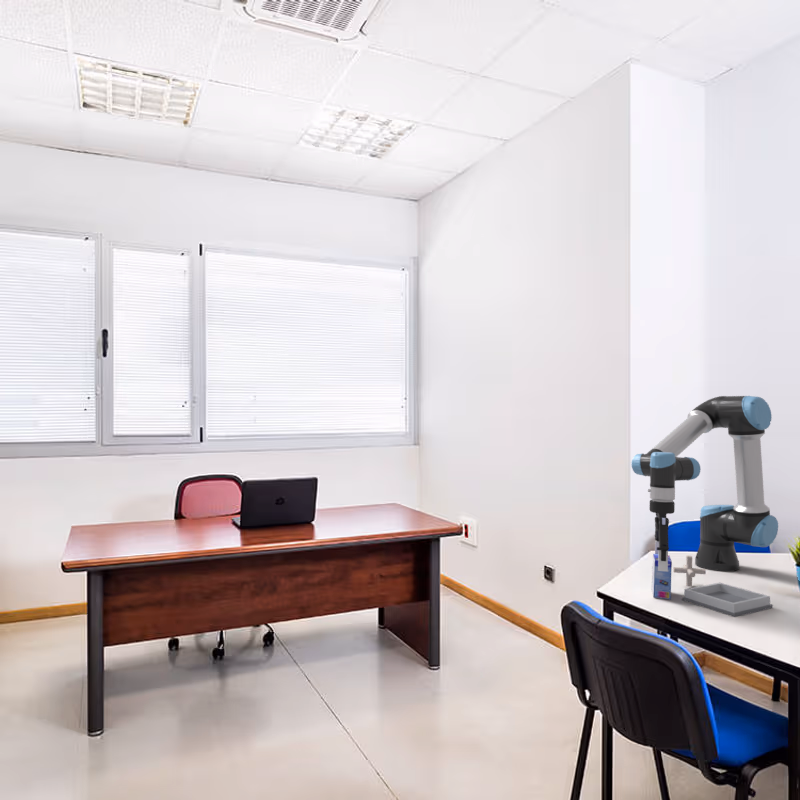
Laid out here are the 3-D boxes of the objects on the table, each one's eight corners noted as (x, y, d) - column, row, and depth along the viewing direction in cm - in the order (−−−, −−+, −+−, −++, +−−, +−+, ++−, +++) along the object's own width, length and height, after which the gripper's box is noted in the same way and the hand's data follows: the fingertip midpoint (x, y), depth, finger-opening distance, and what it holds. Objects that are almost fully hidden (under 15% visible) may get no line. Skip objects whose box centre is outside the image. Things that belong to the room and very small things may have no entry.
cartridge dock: (719, 592, 217) (719, 581, 217) (772, 608, 201) (772, 596, 201) (681, 600, 208) (682, 589, 208) (734, 616, 193) (734, 604, 192)
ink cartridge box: (672, 600, 209) (672, 554, 208) (653, 598, 210) (653, 552, 210) (669, 591, 218) (669, 547, 218) (651, 589, 220) (651, 546, 220)
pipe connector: (708, 590, 219) (708, 560, 219) (676, 588, 221) (676, 558, 221) (701, 582, 229) (701, 553, 229) (670, 580, 231) (670, 552, 231)
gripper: (647, 494, 227) (646, 556, 227) (652, 504, 203) (651, 574, 203) (670, 495, 225) (669, 558, 225) (678, 506, 201) (677, 576, 201)
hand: (661, 566), depth 214 cm, fingers open, 13 cm apart
